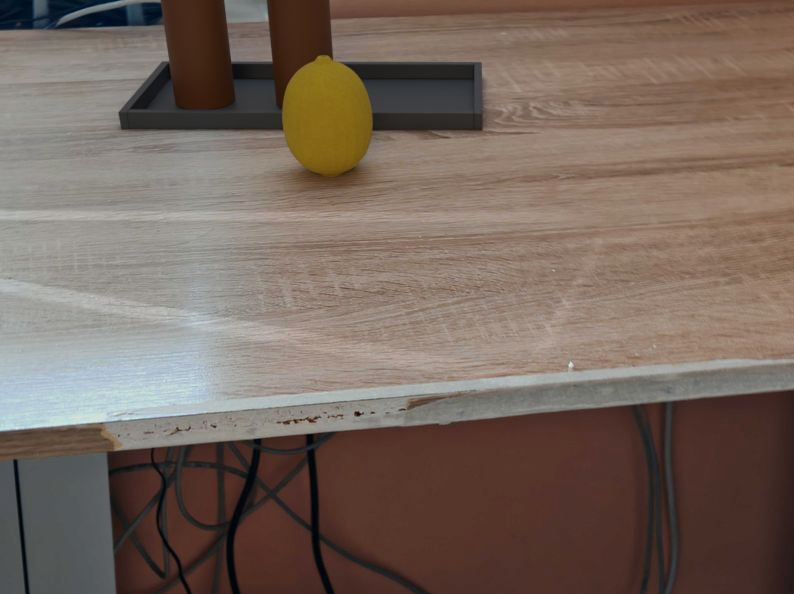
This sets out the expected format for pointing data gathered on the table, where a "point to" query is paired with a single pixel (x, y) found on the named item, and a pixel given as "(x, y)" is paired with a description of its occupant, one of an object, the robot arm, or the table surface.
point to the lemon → (327, 117)
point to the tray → (384, 81)
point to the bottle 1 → (199, 53)
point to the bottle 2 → (297, 37)
